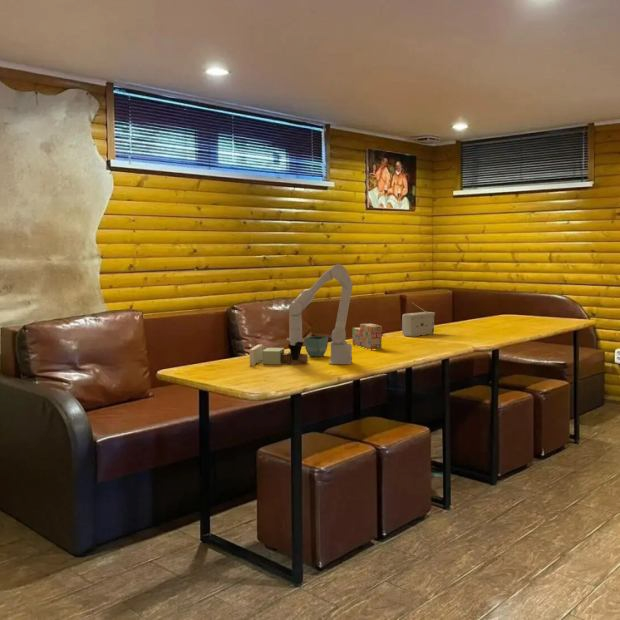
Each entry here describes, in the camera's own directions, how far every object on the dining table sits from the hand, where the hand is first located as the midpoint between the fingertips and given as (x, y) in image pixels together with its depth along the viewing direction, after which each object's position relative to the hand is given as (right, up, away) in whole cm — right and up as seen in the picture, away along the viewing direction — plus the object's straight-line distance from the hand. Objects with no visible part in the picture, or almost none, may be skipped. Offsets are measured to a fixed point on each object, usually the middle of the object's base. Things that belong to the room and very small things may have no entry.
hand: (296, 359), depth 300 cm
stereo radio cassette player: (+70, +7, +91) cm, 115 cm away
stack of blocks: (+36, +2, +46) cm, 59 cm away
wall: (-18, -2, +3) cm, 18 cm away
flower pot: (+9, 0, +19) cm, 21 cm away
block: (-10, -2, +2) cm, 10 cm away
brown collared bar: (-3, -2, +1) cm, 3 cm away
